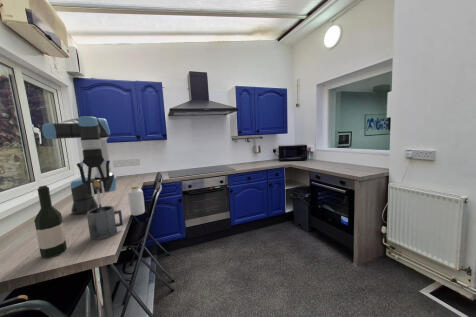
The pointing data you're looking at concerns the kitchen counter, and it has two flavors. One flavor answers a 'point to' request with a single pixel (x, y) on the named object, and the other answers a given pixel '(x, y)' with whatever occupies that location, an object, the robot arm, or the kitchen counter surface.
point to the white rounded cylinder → (136, 201)
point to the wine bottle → (49, 226)
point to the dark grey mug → (103, 222)
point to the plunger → (97, 186)
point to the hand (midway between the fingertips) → (98, 195)
